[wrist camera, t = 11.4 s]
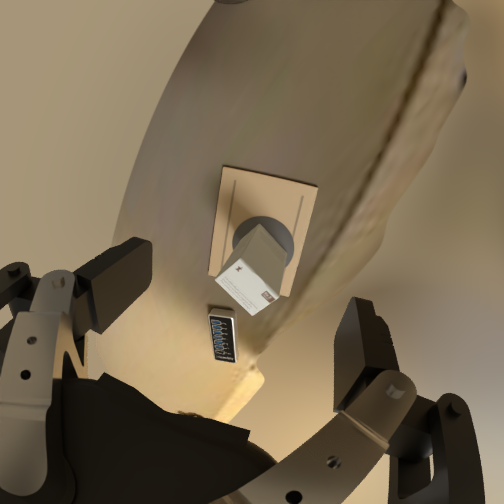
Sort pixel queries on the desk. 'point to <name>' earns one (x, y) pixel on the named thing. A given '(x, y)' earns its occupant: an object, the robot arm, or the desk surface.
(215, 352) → the multiport hub
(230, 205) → the beige flat board
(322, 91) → the desk surface
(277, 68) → the desk surface
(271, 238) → the skincare box
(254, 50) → the desk surface
